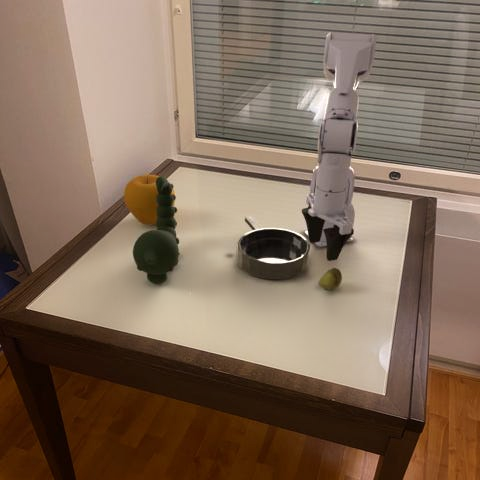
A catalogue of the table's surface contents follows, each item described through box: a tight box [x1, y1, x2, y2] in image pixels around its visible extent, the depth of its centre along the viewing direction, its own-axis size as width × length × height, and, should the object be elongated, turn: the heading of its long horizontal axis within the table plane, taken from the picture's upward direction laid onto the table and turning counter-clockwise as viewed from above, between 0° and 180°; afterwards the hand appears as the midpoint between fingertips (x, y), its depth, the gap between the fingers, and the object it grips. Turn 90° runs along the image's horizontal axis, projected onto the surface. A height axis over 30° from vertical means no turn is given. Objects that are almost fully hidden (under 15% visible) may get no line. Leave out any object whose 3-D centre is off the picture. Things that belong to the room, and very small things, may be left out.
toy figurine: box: [132, 175, 181, 284], centre depth 107 cm, size 9×19×25 cm
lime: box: [318, 267, 343, 291], centre depth 104 cm, size 4×5×5 cm
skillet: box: [236, 227, 311, 280], centre depth 113 cm, size 16×16×4 cm
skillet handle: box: [244, 215, 264, 234], centre depth 120 cm, size 2×8×1 cm, turn 21°
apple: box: [123, 174, 176, 226], centre depth 127 cm, size 13×13×11 cm
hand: (323, 250), depth 101 cm, fingers open, 7 cm apart
